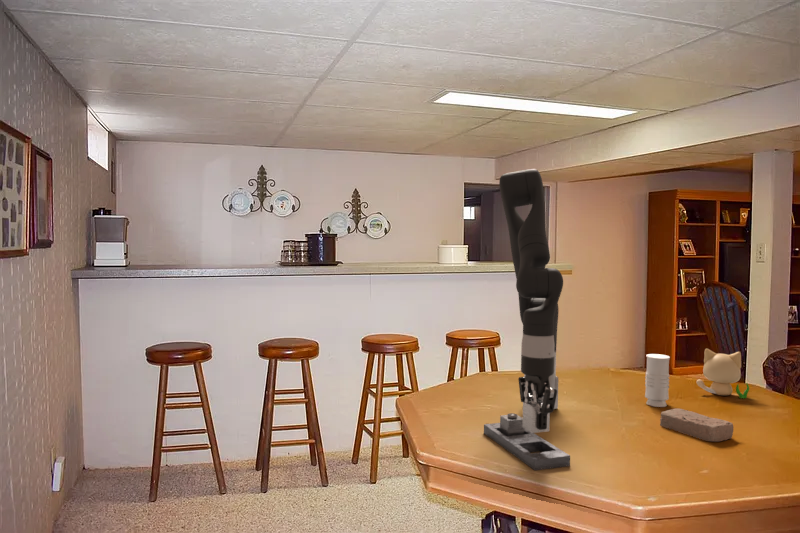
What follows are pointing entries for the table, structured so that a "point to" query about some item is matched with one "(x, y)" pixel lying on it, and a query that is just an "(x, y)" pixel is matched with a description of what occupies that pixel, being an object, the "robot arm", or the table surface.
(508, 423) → the knobbed grey cube
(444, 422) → the table surface
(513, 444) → the grey slotted board
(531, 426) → the cube with silver knob
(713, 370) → the kitten
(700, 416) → the brick
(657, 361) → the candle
